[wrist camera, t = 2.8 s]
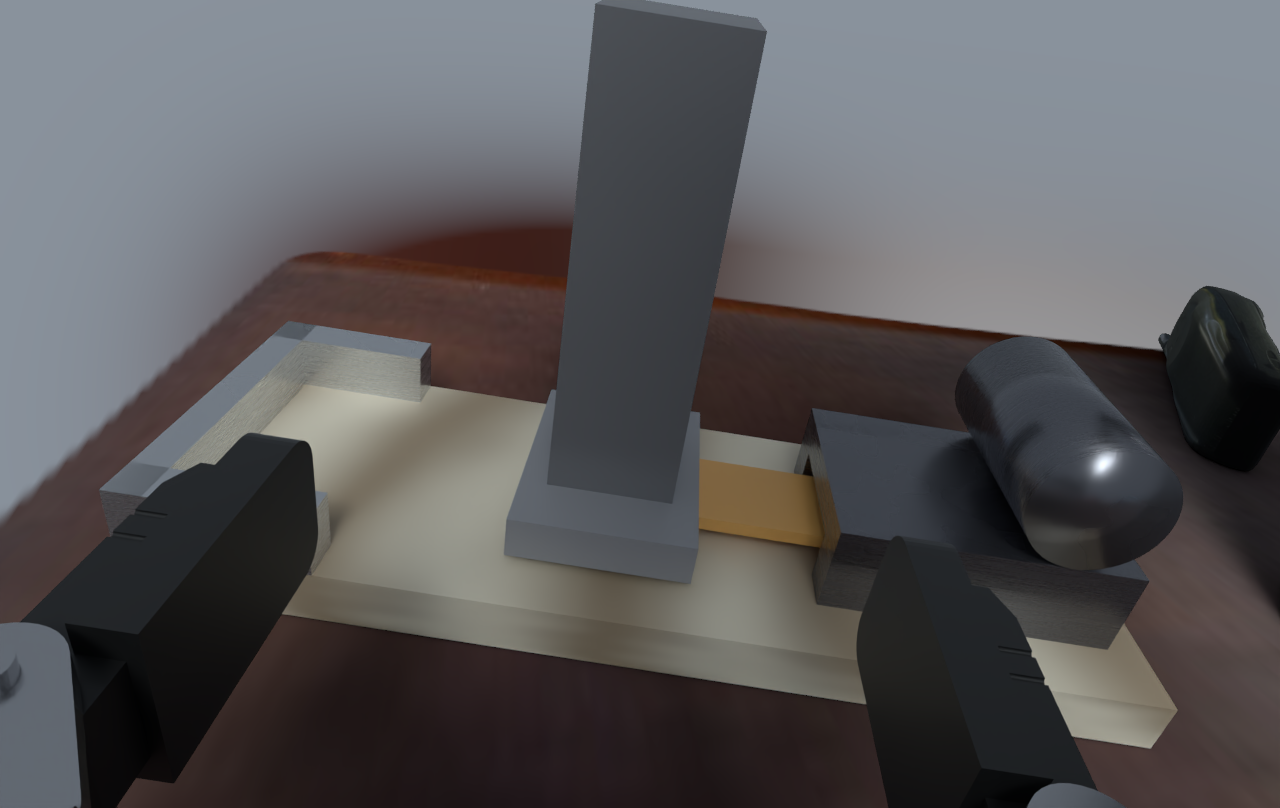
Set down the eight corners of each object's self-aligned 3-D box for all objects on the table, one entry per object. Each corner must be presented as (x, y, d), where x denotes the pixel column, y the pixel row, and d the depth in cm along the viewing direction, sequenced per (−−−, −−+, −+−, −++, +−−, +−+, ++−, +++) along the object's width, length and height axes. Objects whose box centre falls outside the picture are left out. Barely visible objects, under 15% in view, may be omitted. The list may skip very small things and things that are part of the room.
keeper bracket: (430, 386, 29) (431, 343, 28) (311, 575, 20) (307, 522, 19) (292, 364, 29) (288, 320, 28) (112, 544, 20) (99, 489, 19)
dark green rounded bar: (1325, 389, 32) (1243, 275, 44) (1242, 367, 33) (1183, 260, 45) (1259, 487, 35) (1198, 353, 47) (1183, 464, 36) (1143, 339, 48)
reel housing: (1025, 507, 27) (1101, 347, 24) (1107, 649, 22) (1220, 465, 19) (794, 470, 27) (841, 306, 24) (816, 604, 22) (882, 412, 19)
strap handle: (1040, 497, 27) (1236, 91, 21) (1135, 653, 21) (1456, 150, 15) (548, 419, 27) (590, -14, 21) (503, 554, 21) (543, 2, 15)
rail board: (1019, 514, 30) (1035, 481, 29) (1150, 748, 21) (1177, 710, 20) (289, 399, 29) (286, 363, 29) (115, 587, 21) (104, 543, 20)
